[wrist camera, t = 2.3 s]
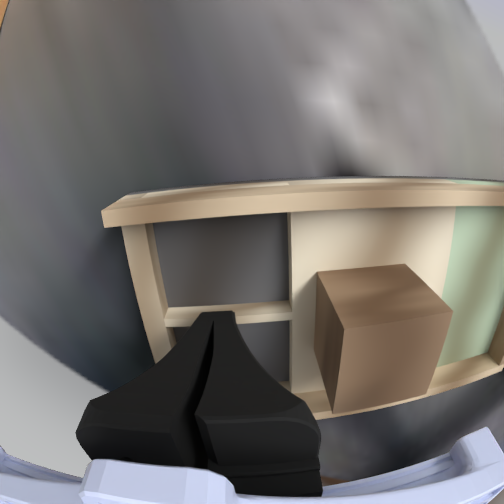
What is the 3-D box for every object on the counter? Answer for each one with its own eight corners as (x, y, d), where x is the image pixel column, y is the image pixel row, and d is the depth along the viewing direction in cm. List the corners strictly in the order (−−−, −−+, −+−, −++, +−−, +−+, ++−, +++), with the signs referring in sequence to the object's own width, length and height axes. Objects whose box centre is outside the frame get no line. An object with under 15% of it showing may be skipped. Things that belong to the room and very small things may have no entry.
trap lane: (514, 181, 13) (552, 195, 10) (478, 343, 17) (501, 370, 14) (130, 192, 13) (101, 210, 10) (174, 385, 17) (165, 426, 14)
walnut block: (404, 263, 13) (453, 311, 9) (392, 338, 14) (426, 394, 10) (316, 271, 13) (344, 329, 9) (313, 349, 14) (332, 414, 10)
